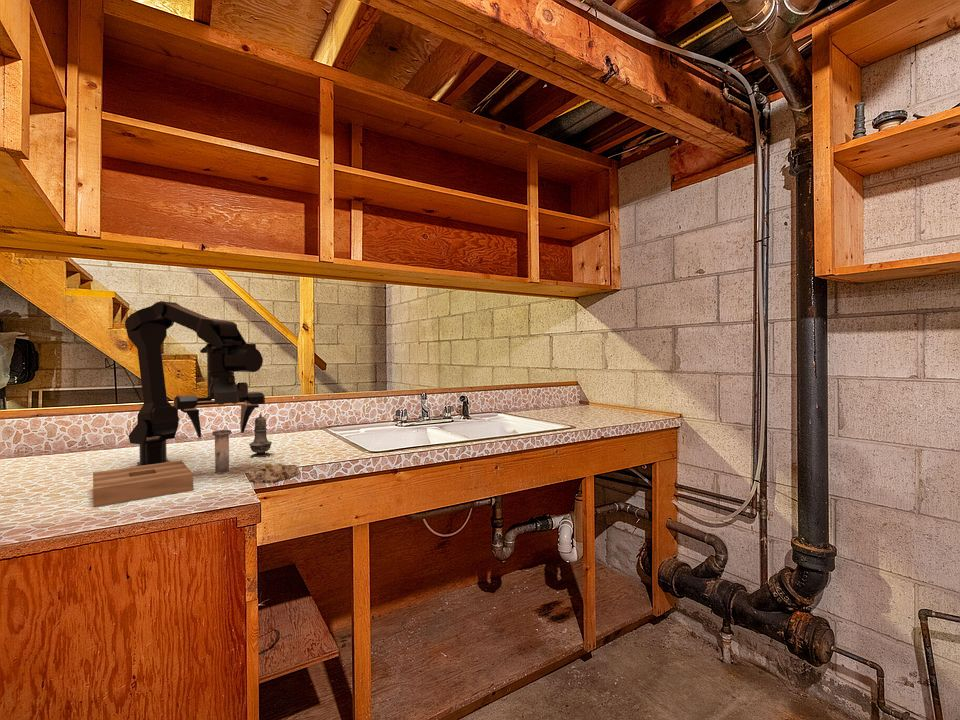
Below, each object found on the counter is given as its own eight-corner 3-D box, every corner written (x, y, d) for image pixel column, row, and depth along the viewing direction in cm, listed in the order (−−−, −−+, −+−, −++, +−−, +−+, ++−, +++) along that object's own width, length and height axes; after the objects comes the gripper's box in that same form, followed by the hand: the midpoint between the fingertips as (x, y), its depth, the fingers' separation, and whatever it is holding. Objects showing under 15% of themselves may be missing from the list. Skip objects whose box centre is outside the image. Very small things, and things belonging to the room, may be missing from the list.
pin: (211, 471, 110) (210, 430, 110) (229, 468, 113) (229, 429, 113) (214, 474, 107) (214, 432, 107) (233, 471, 110) (232, 431, 110)
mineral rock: (254, 477, 97) (246, 460, 103) (253, 495, 98) (244, 477, 104) (305, 470, 104) (294, 455, 110) (303, 487, 105) (292, 471, 111)
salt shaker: (276, 455, 128) (276, 413, 128) (256, 459, 123) (256, 415, 123) (264, 452, 131) (264, 411, 131) (244, 456, 126) (244, 414, 126)
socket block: (93, 488, 96) (92, 472, 96) (181, 474, 107) (181, 460, 107) (93, 507, 84) (93, 488, 84) (193, 490, 95) (193, 473, 95)
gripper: (180, 374, 97) (181, 445, 98) (271, 371, 110) (271, 435, 110) (173, 372, 106) (173, 438, 106) (258, 370, 118) (258, 429, 118)
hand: (221, 435), depth 110 cm, fingers open, 9 cm apart
